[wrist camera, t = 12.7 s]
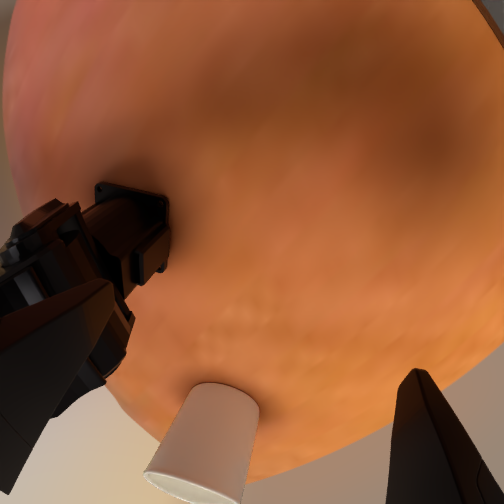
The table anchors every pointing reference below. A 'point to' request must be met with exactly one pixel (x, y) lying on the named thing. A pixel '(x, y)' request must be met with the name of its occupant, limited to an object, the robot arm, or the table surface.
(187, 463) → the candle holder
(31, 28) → the table surface
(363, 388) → the table surface
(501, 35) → the sleeve and socket
